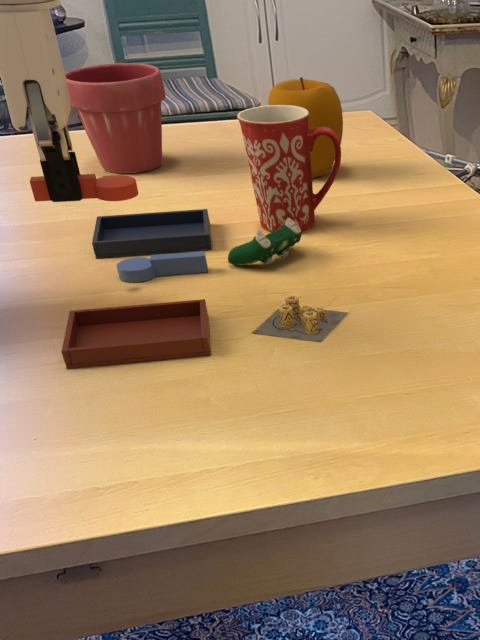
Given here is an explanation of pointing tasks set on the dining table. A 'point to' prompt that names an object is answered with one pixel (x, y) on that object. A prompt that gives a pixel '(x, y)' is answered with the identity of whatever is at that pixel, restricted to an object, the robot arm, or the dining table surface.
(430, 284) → the dining table surface
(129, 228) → the blue tray
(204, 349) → the red tray
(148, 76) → the flower pot
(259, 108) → the mug
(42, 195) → the red spoon
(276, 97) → the apple
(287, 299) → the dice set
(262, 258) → the green elongated piece
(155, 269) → the blue spoon
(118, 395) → the dining table surface
